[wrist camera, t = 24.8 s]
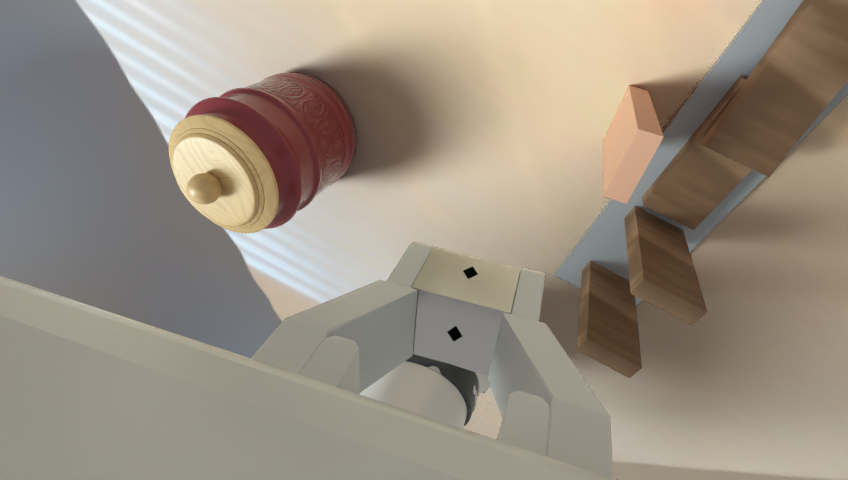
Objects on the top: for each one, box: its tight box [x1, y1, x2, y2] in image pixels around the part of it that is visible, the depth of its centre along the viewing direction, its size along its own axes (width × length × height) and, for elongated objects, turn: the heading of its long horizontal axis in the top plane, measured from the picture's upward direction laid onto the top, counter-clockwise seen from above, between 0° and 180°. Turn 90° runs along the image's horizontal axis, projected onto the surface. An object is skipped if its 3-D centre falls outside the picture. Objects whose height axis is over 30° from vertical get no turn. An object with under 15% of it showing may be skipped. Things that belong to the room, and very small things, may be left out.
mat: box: [555, 0, 848, 306], centre depth 37 cm, size 36×9×1 cm, turn 159°
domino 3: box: [642, 76, 752, 230], centre depth 36 cm, size 2×5×12 cm
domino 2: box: [577, 261, 642, 378], centre depth 41 cm, size 2×5×12 cm, turn 70°
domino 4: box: [624, 206, 707, 325], centre depth 37 cm, size 2×5×12 cm, turn 70°
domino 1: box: [603, 85, 664, 204], centre depth 33 cm, size 2×5×12 cm, turn 168°
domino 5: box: [700, 0, 848, 176], centre depth 31 cm, size 2×5×12 cm
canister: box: [169, 73, 356, 233], centre depth 43 cm, size 13×13×18 cm
